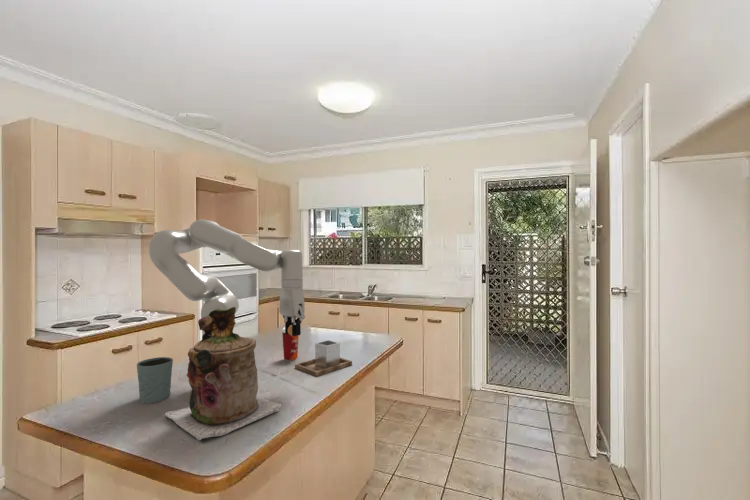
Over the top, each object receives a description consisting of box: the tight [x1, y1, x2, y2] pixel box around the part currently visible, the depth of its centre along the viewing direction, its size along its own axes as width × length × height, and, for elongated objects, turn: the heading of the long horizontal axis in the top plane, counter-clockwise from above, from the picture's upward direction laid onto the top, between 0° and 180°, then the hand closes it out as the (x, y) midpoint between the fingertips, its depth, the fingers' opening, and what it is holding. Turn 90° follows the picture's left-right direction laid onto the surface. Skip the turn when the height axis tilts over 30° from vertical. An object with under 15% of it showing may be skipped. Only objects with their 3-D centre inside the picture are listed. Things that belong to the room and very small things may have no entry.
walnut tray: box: [294, 357, 353, 377], centre depth 148 cm, size 18×14×2 cm
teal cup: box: [136, 356, 174, 404], centre depth 121 cm, size 10×10×12 cm
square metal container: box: [314, 339, 341, 369], centre depth 150 cm, size 7×7×9 cm
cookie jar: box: [164, 307, 282, 441], centre depth 108 cm, size 25×25×32 cm
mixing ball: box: [288, 325, 292, 335], centre depth 134 cm, size 4×4×4 cm
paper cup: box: [281, 326, 300, 361], centre depth 160 cm, size 8×8×14 cm
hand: (292, 333), depth 134 cm, fingers closed on mixing ball, 3 cm apart
